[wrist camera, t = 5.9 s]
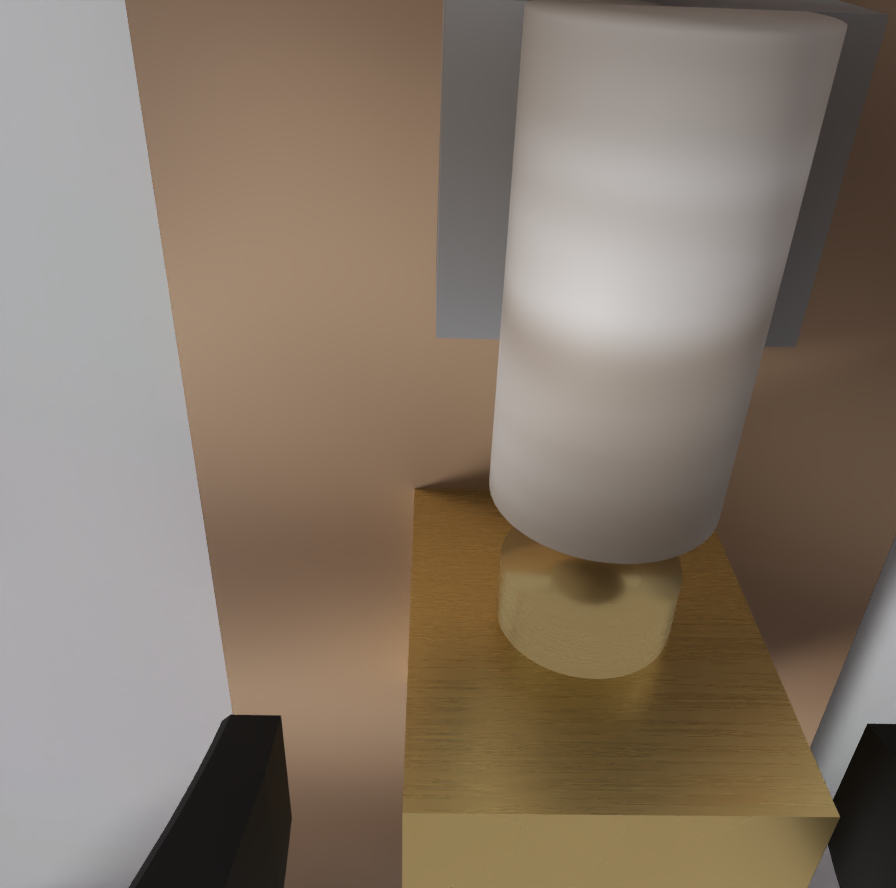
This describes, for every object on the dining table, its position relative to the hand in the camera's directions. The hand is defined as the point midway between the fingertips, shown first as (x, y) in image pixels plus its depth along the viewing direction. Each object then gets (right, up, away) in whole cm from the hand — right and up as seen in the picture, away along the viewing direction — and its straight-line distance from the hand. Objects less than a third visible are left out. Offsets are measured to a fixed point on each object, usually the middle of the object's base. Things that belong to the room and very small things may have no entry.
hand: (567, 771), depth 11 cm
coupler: (0, +2, +2) cm, 3 cm away
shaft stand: (0, +2, +3) cm, 4 cm away
